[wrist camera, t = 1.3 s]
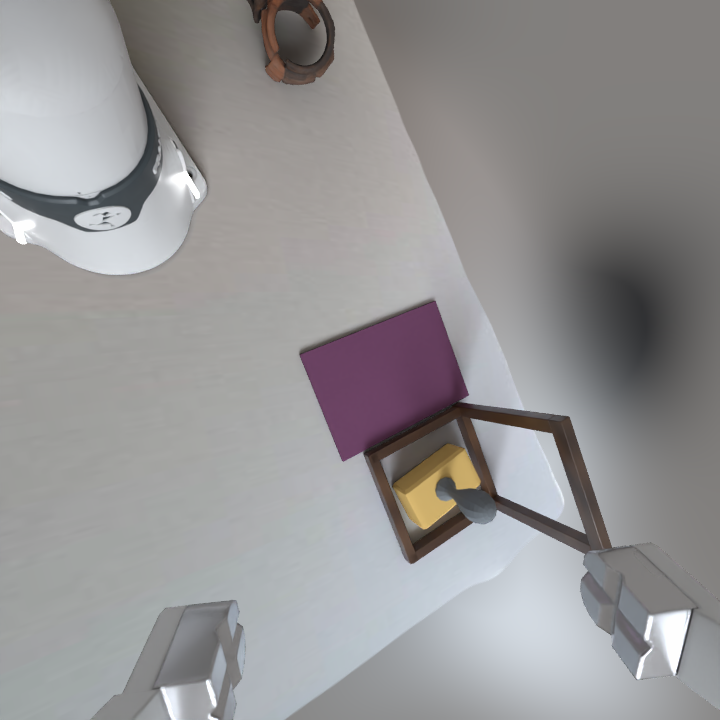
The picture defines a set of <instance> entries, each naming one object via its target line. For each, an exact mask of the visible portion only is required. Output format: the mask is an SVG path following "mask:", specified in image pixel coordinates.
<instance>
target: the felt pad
mask: <svg viewBox="0 0 720 720" xmlns="http://www.w3.org/2000/svg"><path fill="white" fill-rule="evenodd" d="M300 357H301V360H302V362H303V365H304V367H305V370H306V372H307V375H308V377H309V380H310V382H311V384H312V387H313V389H314V392H315V394H316V397H317V399H318V402H319V404H320V407H321V409H322V412H323V414H324V417H325V419H326V422H327V424H328V427H329V429H330V432H331V434H332V437H333V439H334V442H335V444H336V447H337V449H338V452H339V454H340V457H341V459H342V461H345V460H347V459H349V458H351V457H353V456H355V455H357V454H359V453H360V452H362V451H364V450H366V449H368V448H370V447H372V446H374V445H376V444H378V443H379V442H381V441H383V440H385V439H387V438H389V437H391V436H393V435H395V434H396V433H398V432H400V431H402V430H404V429H406V428H408V427H410V426H412V425H414V424H415V423H417V422H419V421H421V420H423V419H425V418H427V417H429V416H431V415H432V414H434V413H436V412H438V411H440V410H442V409H444V408H446V407H448V406H450V405H451V404H453V403H455V402H457V401H459V400H461V399H463V398H465V397H467V396H468V395H469V394H468V391H467V389H466V386H465V383H464V380H463V377H462V375H461V372H460V369H459V366H458V363H457V360H456V358H455V355H454V352H453V349H452V346H451V344H450V341H449V338H448V335H447V332H446V329H445V327H444V324H443V321H442V318H441V315H440V313H439V310H438V307H437V304H436V301H434V302H431V303H428V304H426V305H423V306H421V307H418V308H416V309H413V310H411V311H408V312H406V313H403V314H401V315H398V316H396V317H393V318H391V319H388V320H386V321H383V322H381V323H378V324H376V325H373V326H371V327H368V328H366V329H363V330H360V331H358V332H355V333H353V334H350V335H348V336H345V337H343V338H340V339H338V340H335V341H333V342H330V343H328V344H325V345H323V346H320V347H318V348H315V349H313V350H310V351H308V352H305V353H303V354H300Z"/></svg>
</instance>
